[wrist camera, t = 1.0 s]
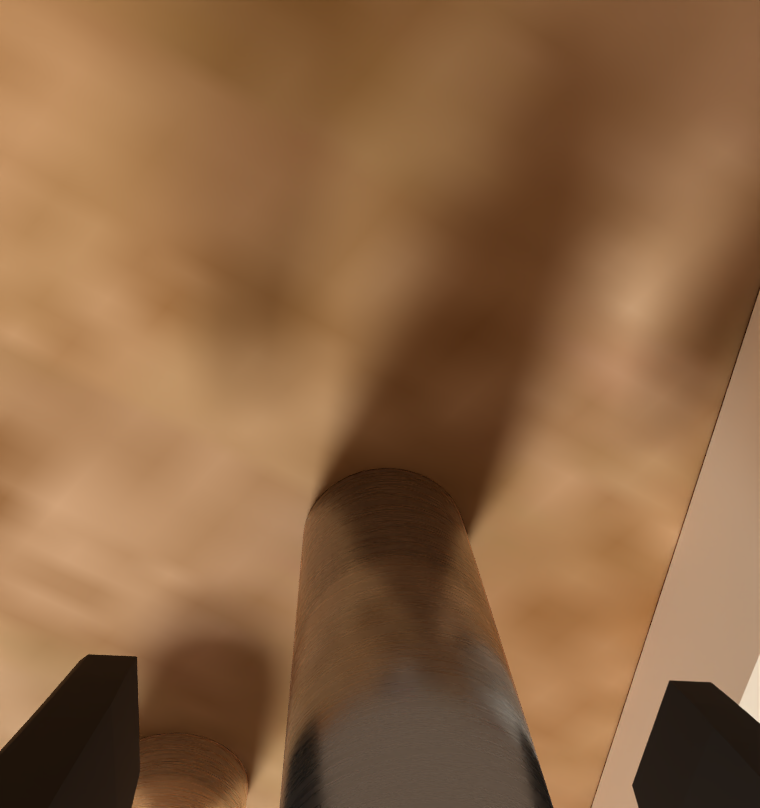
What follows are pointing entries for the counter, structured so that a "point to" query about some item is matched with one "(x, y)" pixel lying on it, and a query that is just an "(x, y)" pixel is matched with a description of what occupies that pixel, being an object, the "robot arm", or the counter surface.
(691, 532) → the hole block
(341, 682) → the tall pin
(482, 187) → the counter surface
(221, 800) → the short pin
